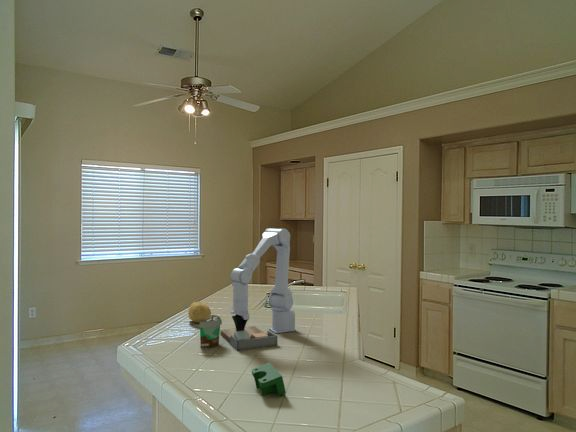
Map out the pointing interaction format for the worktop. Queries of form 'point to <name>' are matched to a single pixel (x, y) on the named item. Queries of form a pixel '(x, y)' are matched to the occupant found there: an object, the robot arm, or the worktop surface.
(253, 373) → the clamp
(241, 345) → the tray
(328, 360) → the worktop surface
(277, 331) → the robot arm
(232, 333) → the walnut board
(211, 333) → the food container
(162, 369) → the worktop surface
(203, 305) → the potato
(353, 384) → the worktop surface
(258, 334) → the terracotta tile
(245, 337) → the pale blue block
